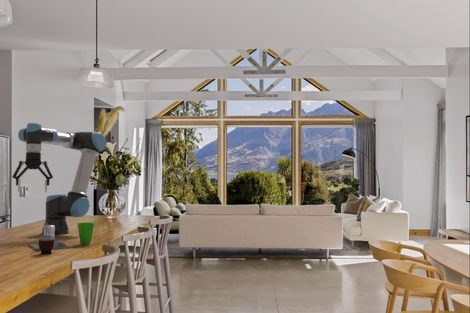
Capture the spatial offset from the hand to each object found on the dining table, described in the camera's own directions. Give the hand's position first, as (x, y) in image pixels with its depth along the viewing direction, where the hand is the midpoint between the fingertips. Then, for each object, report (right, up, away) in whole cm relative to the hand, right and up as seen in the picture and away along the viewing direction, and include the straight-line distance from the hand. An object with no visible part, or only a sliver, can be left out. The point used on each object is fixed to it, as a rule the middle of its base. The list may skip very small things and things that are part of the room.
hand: (32, 191), depth 289 cm
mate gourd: (+21, -26, -38) cm, 51 cm away
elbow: (+16, -26, -21) cm, 36 cm away
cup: (+30, -27, -6) cm, 41 cm away
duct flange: (+15, -27, -19) cm, 36 cm away
